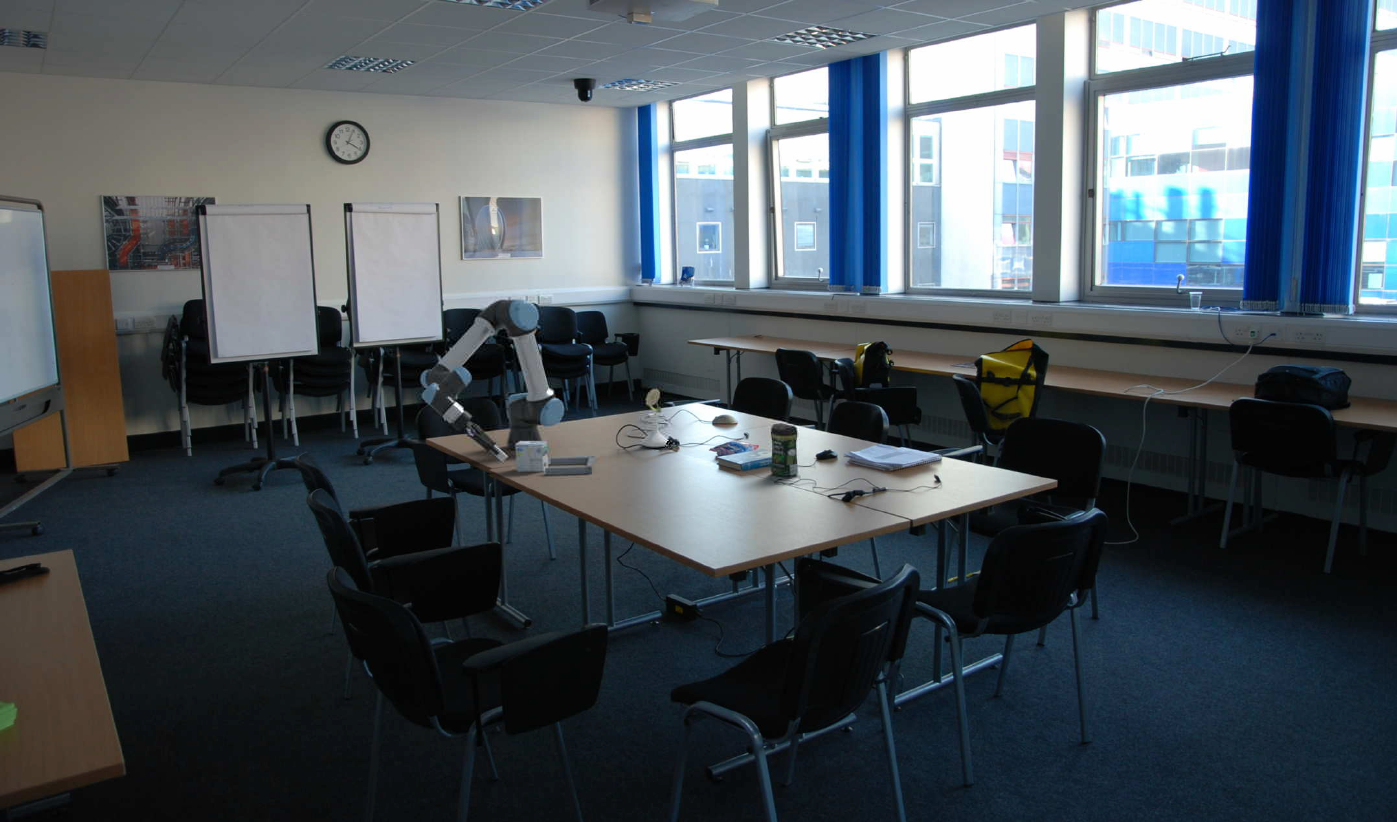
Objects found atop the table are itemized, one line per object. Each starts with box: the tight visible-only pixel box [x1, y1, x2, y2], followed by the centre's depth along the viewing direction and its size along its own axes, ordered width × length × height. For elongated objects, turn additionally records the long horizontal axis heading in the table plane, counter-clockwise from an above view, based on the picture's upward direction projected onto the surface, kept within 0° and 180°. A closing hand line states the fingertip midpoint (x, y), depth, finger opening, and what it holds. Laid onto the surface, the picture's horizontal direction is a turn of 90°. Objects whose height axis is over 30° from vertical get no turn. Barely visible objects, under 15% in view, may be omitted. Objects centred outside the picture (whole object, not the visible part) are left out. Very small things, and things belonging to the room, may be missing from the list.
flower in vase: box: [641, 388, 669, 448], centre depth 405 cm, size 13×11×25 cm
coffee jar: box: [770, 422, 799, 478], centre depth 349 cm, size 10×8×19 cm
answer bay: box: [544, 455, 596, 476], centre depth 368 cm, size 20×17×2 cm
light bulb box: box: [515, 440, 549, 473], centre depth 367 cm, size 11×7×11 cm, turn 84°
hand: (505, 459), depth 366 cm, fingers closed
